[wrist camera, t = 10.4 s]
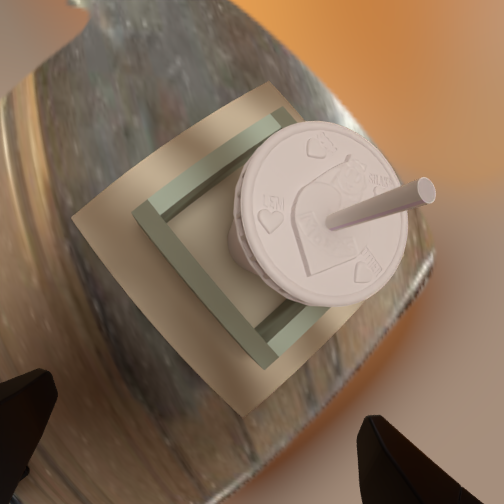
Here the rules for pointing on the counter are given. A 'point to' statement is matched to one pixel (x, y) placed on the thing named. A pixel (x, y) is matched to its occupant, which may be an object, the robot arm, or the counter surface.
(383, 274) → the smoothie
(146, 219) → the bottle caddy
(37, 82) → the counter surface
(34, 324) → the counter surface
